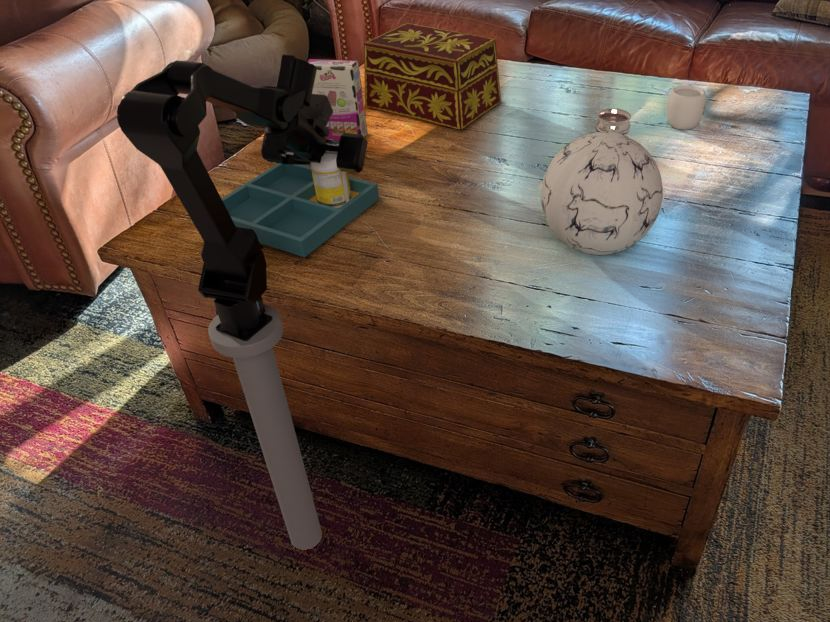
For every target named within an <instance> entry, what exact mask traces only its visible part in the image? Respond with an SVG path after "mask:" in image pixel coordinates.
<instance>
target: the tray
mask: <svg viewBox="0 0 830 622" xmlns="http://www.w3.org/2000/svg"><path fill="white" fill-rule="evenodd" d="M348 177H349V184H350V191H351V200H350V201H348V202H347V203H346V204H344V205H343V206H342V207H340V208H334V207H331V206H327V205H324V204H320V203H318V201H317V197H316V191H315V186H314V181H313V176H312V170H311V165H288V164H280V163H276V164H274V165H273V166H271V167H269V168H268V169H267V170H265V171H263V172H262V173H260V174H258V175H257V176H255V177H254V178H252V179H250V180H249V181H247V182H245V183H244V184H242V185H240V186H239V187H237V188H236V189H234V190H233V191H231V192H229V193H228V194H226V195H224V196H223V197H221V199H222V201H223V203H224V205H225V207H226V208H227V210H228V212H229V214H230V216H231V218H232V220H233V222H234V224H235V226H236V227H242V228H249V229H253V230H254V231H255V233H256V234H257V237H258V240H259V242H260V244H261V245H264V246H267V247H271V248H273V249H276V250H280V251H283V252H287V253H288V254H289V253H290V254H292V255H296V256H299V257H302V258H306V257H308V255H310V254H311V253H313V252H314V251H315V250H316V249H318V248H319V247H320V246H321V245H323V244H324V243H325V242H326V241H328V240H329V239H331V238H332V237H333V236H334V235H336V234H337V233H338V232H339V231H341V230H342V229H343V228H345V227H346V226H347V225H349V224H350V223H351V222H352V221H354V220H355V219H356V218H357V217H359V216H360V215H361V214H362V213H364V212H366V210H368V209H369V208H370V207H371V206H373V205H374V204H375V203H376V202H377V201H379V200H380V195H379V187H378V183H374V182H371V181H367V180H363V179H359V178H355V177H352V176H348Z"/></svg>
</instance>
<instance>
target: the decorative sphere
mask: <svg viewBox="0 0 830 622" xmlns="http://www.w3.org/2000/svg"><path fill="white" fill-rule="evenodd" d="M662 179H663V178H662V174H661V171H660V169H659V166H658V164H657V163H656V161H655V159H654V157H653V155H652V154H651V153H650V152H649V151H648V150H647V149H646V148H645V147H644V146H643V145H642V144H641V143H640V142H638V141H637V140H635V139H634V138H631V137H630V136H628V135H626V136H625V135H622V134H618V133H613V132H597V131H596V132H591V133H587V134H584V135H581V136H579V137H577V138H575V139H573V140H571V141H570V142H568V143H567V144H566V145H564V146H563V147H562V148H561V149H559V151H558V152H557V153H556V154H555V155H554V157H553V158H552V159H551V162H550V163H549V165H548V167H547V168H546V171H545V173H544V175H543V178H542V184H541V192H540V193H541V195H540V196H541V197H540V201H541V207H542V211H543V215H544V218H545V221H546V223H547V225H548V226H549V228H550V230H551V231H552V232H553V233H554V235H555V236H556V237H557V238H558V239H559V240H560V241H561V242H563V244H564V245H566V246H568V247H569V248H571V249H573V250H575V251H577V252H580V253H583V254H587V255H593V256H607V255H613V254H616V253H619V252H623V251H625V250H627V249H629V248H631V247H633V246H634V245H636V244H637V243H638V242H639V241H641V240H642V239H643V238H645V236H646V235H647V234H648V233H649V231H650V230H651V229H652V228H653V225H654V224H655V222H656V221H657V219H658V217H659V213H660V210H661V207H662V202H663V197H664V196H663V195H664V187H663V180H662Z"/></svg>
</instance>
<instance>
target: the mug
mask: <svg viewBox="0 0 830 622" xmlns="http://www.w3.org/2000/svg"><path fill="white" fill-rule="evenodd" d="M707 97H708V96H707V93H706V91H705V89H703V88H701V87H699V86H696V85H690V84H687V85H686V84H683V85H677V86H674V87H673V88H671V89H670V91H669V92H668V96H667V100H666V107H665V110H666V120H667V122H668V125H670V126H671V127H672V128H674V129H677V130H684V131H685V130H692V129H695V128H696V127H697V126H698V125H699V124H700V122H701V120H702V119H703V116H704V114H705V110H706V107H707Z"/></svg>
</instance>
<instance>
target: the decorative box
mask: <svg viewBox="0 0 830 622" xmlns="http://www.w3.org/2000/svg"><path fill="white" fill-rule="evenodd" d="M496 42H497V41H496V39H495V38H491V37H485V36H481V35H475V34H470V33H464V32H459V31H453V30H448V29H442V28H438V27H437V28H436V27H432V26H426V25H420V24H416V23H409V22H405V23H403V24H401V25H399V26H397V27H395V28H393V29H391V30H389V31H386V32H384V33H382V34H380V35H378V36H376V37H374V38H372V39H369V40H367V41H365V42H364V43H363V66H364V68H363V69H364V73H363V74H364V107H366V108H369V109H373V110H377V111H381V112H386V113H389V114H394V115H397V116H401V117H405V118H409V119H414V120H418V121H422V122H426V123H429V124H434V125H438V126H441V127H446V128H451V129H455V130H459V131H462V130H463V129H465V128H467V127H468V126H469V125H471V124H473V122H475V121H477V120H478V119H480V118H481V117H482V116H484V115H485V114H487V113H488V112H490V111H492V109H494V108H496V107H497V106H498V105H500V104H501V103H502V96H501V95H502V94H501V86H500V74H499V67H498V65H499V64H498V62H499V61H498V54H497V53H498V52H497V45H496V44H497V43H496Z"/></svg>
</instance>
